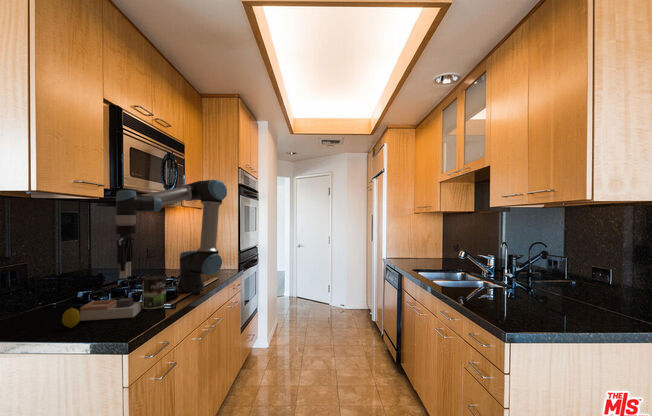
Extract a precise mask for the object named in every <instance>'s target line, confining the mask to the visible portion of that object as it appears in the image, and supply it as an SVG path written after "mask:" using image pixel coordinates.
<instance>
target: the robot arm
mask: <svg viewBox="0 0 652 416" xmlns="http://www.w3.org/2000/svg"><path fill="white" fill-rule="evenodd" d="M115 195H116V196H115V217H114V219H115V224H116V226H115V234H116V235H119V239H117V240H116V245H117V247H116V251H117V252H116V254H117V255H116V256H117V257H116V258H117V259H116V260H117V262H116V264H118V265H119V279H127V278H128V277H131V276H132V262H133V261H134V242H135V238H134V237H132V234H135V233H136V232H137V231H136V228H137V226H136V225H135V224H136V222H137V213H138V212H139V213H143V212H144V213H147V212H149V213H150V212H151V213H154V212H155V213H156V212H160V211H161V210H162V208H163V206H164V205H169V204H173V203H178V202H182V201H186V202H189V201H200V203H201V204H202V219H201V230H200V242H199V243H200V246H199V248H197V249H196V250H187V251H182V252H181V253H179V254H180V255H179V279H178V282H177V284H176V287H175V290H176V289H177V291H178V292H177V291H176V292H177V293H179V292H192V293H198V292H201V291H204V290H205V283H204V280H203V277H202V275H205V276H209V275H210V276H212V275H215V274H216V273H218V272H219V271H221V268H222V265H223V258H222V256H221V255H220V254H219V252H220V251H219V249H217V242H218V241H217V240H218V238H217V237H218V226H219V215H220V212H219V211H220V210H219V209H220V206H221V205H223V200H224V199H225V198H226V197H227V195H228V189H227V186H226V185H225V183H224V182H223V181H221V180H220V179H207V180H206V179H205V180H197V181H194V182H191V183H188V184H183V185H181V186H180V187H175V188H169V189H165V190H160V191H154V192H149V193H143V194H138V195H137V192H136V190H129V189H123V190H118V191H116V194H115Z"/></svg>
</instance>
